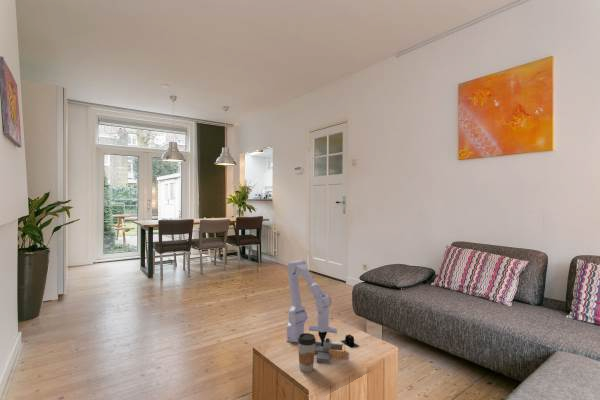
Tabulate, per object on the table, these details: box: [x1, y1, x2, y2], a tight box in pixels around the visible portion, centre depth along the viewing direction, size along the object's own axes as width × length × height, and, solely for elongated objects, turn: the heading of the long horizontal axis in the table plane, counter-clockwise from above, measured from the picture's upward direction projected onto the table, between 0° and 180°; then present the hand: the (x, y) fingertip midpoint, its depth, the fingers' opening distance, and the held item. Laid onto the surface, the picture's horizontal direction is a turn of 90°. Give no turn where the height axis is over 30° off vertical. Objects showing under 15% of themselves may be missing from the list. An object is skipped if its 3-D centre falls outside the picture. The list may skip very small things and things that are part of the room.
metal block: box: [323, 337, 333, 351], centre depth 162 cm, size 4×4×5 cm
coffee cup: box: [298, 332, 317, 373], centre depth 147 cm, size 8×8×15 cm
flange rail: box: [315, 341, 346, 359], centre depth 163 cm, size 16×8×3 cm, turn 79°
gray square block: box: [316, 352, 332, 364], centre depth 155 cm, size 6×6×2 cm
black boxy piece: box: [340, 334, 360, 349], centre depth 174 cm, size 12×7×5 cm, turn 31°
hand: (322, 345), depth 163 cm, fingers closed, pressing on metal block
